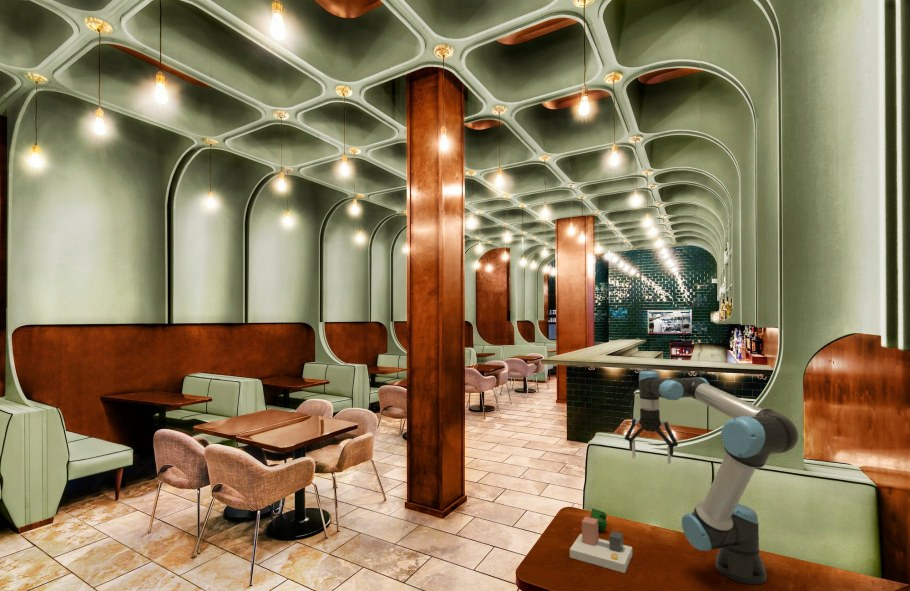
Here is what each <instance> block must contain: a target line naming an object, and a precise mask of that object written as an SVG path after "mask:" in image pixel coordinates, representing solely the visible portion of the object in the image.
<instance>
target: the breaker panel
mask: <svg viewBox="0 0 910 591" xmlns="http://www.w3.org/2000/svg"><path fill="white" fill-rule="evenodd" d="M632 557H633V546H629V545H626V544H623V548H622V550H621V552H619V551H615V550H612V549H609V540H606V539H602V538H599V540H598V542H597V544H596V545H591V544H587V543H583V542H582V533H580V534H579V535H578V536H577V538H576V540H575V541H574V543H573V544H572V545H571V547H570V548H569V558H571V559H575V560H577V561H581V562H585V563H588V564H590V565H591V564H593V565H596V566H599V567H602V568H605V569H610V570H611V571H612V570H613V571H616V572H620V573H623V574H626V572H627V570H628V567H629V564H630V563H631V559H632Z"/></svg>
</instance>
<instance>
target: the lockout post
mask: <svg viewBox="0 0 910 591" xmlns="http://www.w3.org/2000/svg"><path fill="white" fill-rule="evenodd" d="M581 534H582V542H583V543H587V544H591V545H596V544H597V542H598V540H599V539H600V538H599V530H598V519H594V518H590V517H589V516H587V515H586V516H584V518H583V519H582V520H581Z"/></svg>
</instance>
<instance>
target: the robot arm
mask: <svg viewBox="0 0 910 591" xmlns="http://www.w3.org/2000/svg"><path fill="white" fill-rule="evenodd" d="M638 387H639V389H638V390H639V407H640V409H639V419H638V418H636V417H633V418H632V420H631V425H630V427H629V429H628V430H627V433H626V435H625V437H624V440H625V441H628V443H629V444H628V446H629V450H631V453H632V454H631V458H632V459H635V458H636V441H635V439H636V438H638V436H639V435H640V434H641V433H642V432H643V431H645V432H652V433H654V432H656V433H657V435H659V436H660V437H661V439H662V440H663V441H664V442H665V443H666V444H667V448H666V451H667V464H668V465H669V464H671V463H672V460H671V456H673V455H674V447H678V445H679V441H678V440H677V439H676V437H675V436H674V434H673V432H672V430H671V428H670V424H669V422H668V421H666V420H665V421H661V415H660V414H661V413H660V412H661V410H660V398H662V399H665V400H668V401H678V400H680V399H684V398H692V399H694V400H697V401H698V402H700V403H702V404H704V405H706V406H708V407H711V408H712V409H713V410H715V411H718V412H719V413H722V414H723V415H725V416H727V417H729V418H730V419H729V420H727V421H726V422H725V423H724V424H723V425H722V428H721V432H720V437H721V438H722V439H721V443H722V445H723V451H724V452H725V455H724V457H723V460H722V461H721V463H720V466H719V468H718V470H717V472H716V474H715V476H714V479H713V481H712V483H711V486H710V488H709V490H708V491H707V494H706V495H705V498H704V500H700V501H698V502H697V503H696V505H695V506H694V509H693V511H692V512H691V513H690V512H687V513H685V514H684V515H682V518H681V528H682V530H683V534H684V535H685V538H686V539H687V541H688V542H689V543H690V545H691V546H692V547H693V548H695V549H696V550H698V551H703V552H705V551H712V550H717V549H719V550H718V552H717V554H716V557H715V568H716V570H717V571H718V572H719V573H720V574H722V575H723V576H724V577H726V578H727V579H730V580H733V581H735V582H739V583H740V584H741V583H742V584H746V585H747V584H748V585H760V584H764V583H765V582H766V581H767V570H766V568H765V566H764V563H763V559H762V557H761V555H760V554H761V553H760V534H759V533H760V532H759V519H758V517H759V516H758V513H757V512H756V511H755V510H754V509H752V508H750V507H749V506H747V505H744V504H741V503H739V502H740V500H741V498H742V496H743V494H744V492H745V490H746V488H747V486H748V484H749V483H750V481H751V478H752V476H753V475H754V473H755V471H756V469H762V468H763V467H764V466H765V465H766V463H767V461H768V459H769V458H770V456H771V455H774V454H775V455H777V454H782V453H787V452H788V451H791V450H793V449H794V447H795V446H796V445H797V443H798V440H799V432H798V428H797V427H796V425H795V423H794V422H793V421H792V420H791V419H790V418H788V417H787V416H785V415H784V414H781V413H779V412H778V411H776V410H773V409H771V408H769V407H764V408H762V407H759V406H757V405H755V404H752V403H750V402H748V401H745V400H744V399H741V398H739V397H736V396H735V395H733V394H730V393H728V392H726V391H724V390H721V389H719V388H717V387H714V386H712V385H710V382H708V381H707V378H704V377H695V376H694V377H686V378H684V377H683V378H660V377H659V373H658V372H657V371H654V370H641V371H640V372H639V375H638ZM637 424H640V426H641V427H639V429H637V431H636V432H635V433H634V434H633V435H632V436H631V434H632V432H633V430H634V428H635V426H636V425H637ZM661 426H662V427H663V428H664V429H665V431H666V433H667V435H668V436H667V435H666V434H665V433H664V432H663V430H662V429H661ZM630 436H631V437H630ZM669 438H670V439H669Z"/></svg>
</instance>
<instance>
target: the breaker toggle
mask: <svg viewBox="0 0 910 591" xmlns="http://www.w3.org/2000/svg"><path fill="white" fill-rule="evenodd" d="M608 541H609V549H612V550H615V551H619V552H621V550H622V548H623V545H624V533H623V532H618V531H614V530H611V533H610V534H609V536H608Z"/></svg>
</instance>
